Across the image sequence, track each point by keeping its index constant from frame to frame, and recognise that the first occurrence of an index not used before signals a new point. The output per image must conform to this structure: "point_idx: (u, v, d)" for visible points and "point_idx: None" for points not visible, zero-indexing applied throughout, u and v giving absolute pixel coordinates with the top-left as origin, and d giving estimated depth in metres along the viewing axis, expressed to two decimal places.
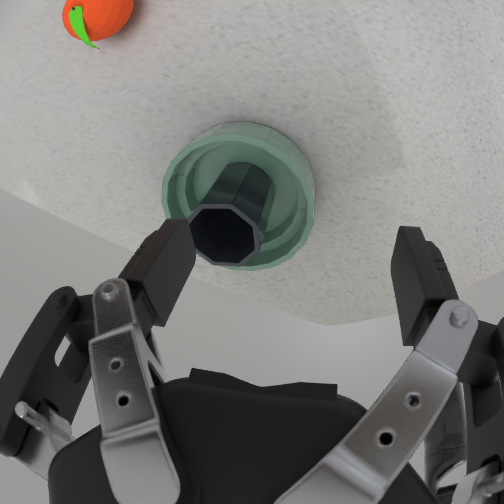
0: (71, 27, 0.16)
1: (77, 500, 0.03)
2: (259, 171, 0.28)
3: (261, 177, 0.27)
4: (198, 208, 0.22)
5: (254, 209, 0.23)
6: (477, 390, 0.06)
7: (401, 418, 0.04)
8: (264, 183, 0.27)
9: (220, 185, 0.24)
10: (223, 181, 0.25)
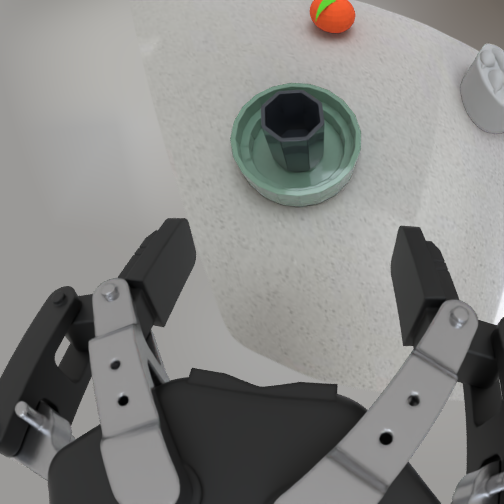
0: (320, 1, 0.30)
1: (77, 500, 0.03)
2: None
3: None
4: (298, 90, 0.26)
5: None
6: (477, 390, 0.06)
7: (401, 418, 0.04)
8: None
9: None
10: None
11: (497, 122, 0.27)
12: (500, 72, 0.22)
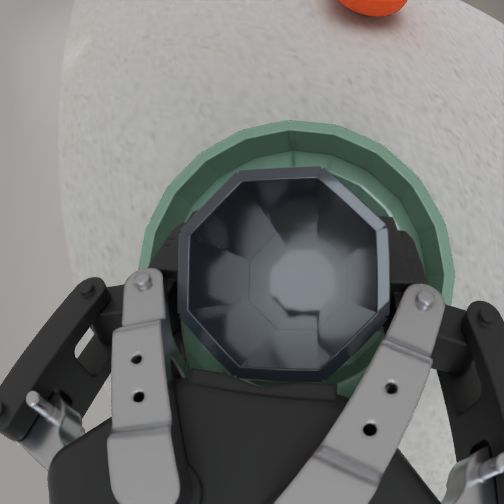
0: None
1: (77, 500, 0.03)
2: None
3: None
4: (308, 170, 0.08)
5: None
6: (453, 378, 0.06)
7: (382, 407, 0.04)
8: None
9: None
10: None
11: None
12: None
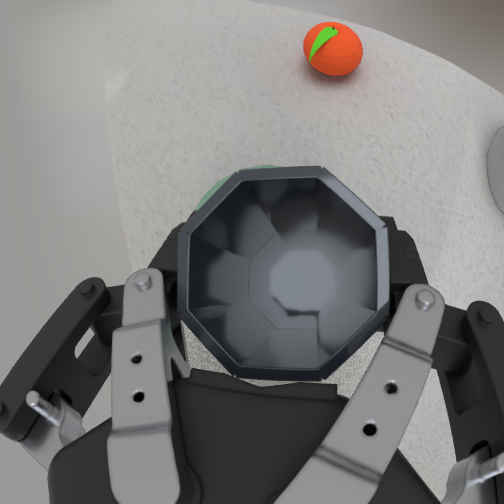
0: (317, 33, 0.25)
1: (77, 500, 0.03)
2: None
3: None
4: (308, 169, 0.08)
5: None
6: (453, 378, 0.06)
7: (382, 407, 0.04)
8: None
9: None
10: None
11: None
12: None
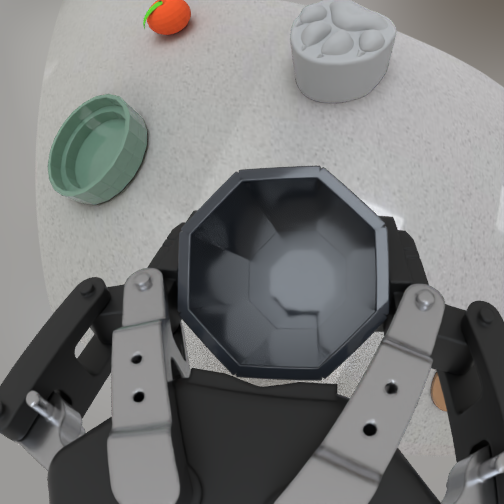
0: (150, 8, 0.31)
1: (77, 500, 0.03)
2: None
3: None
4: (308, 169, 0.08)
5: None
6: (453, 378, 0.06)
7: (381, 407, 0.04)
8: None
9: None
10: None
11: (324, 86, 0.28)
12: (317, 22, 0.23)
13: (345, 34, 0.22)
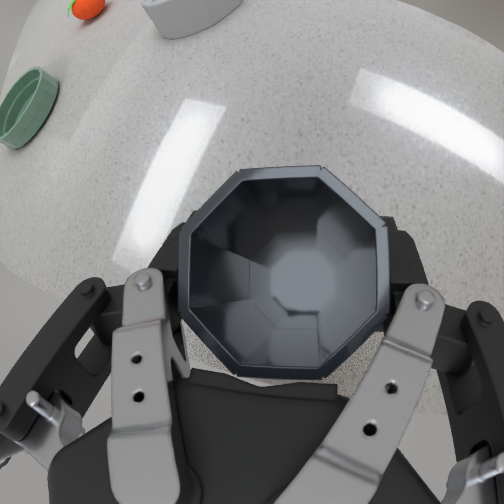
0: (73, 1, 0.32)
1: (77, 500, 0.03)
2: None
3: None
4: (309, 169, 0.08)
5: None
6: (453, 378, 0.06)
7: (382, 407, 0.04)
8: None
9: None
10: None
11: (167, 24, 0.29)
12: None
13: None
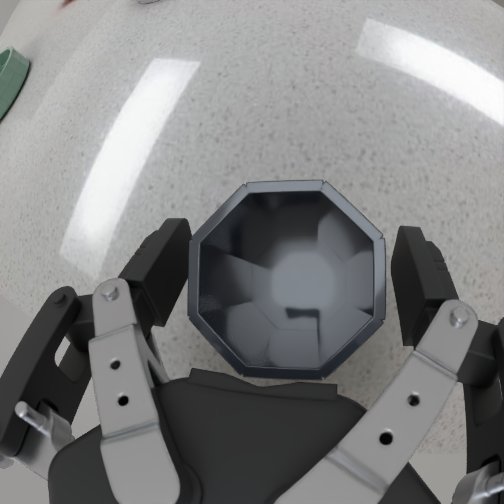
0: None
1: (77, 499, 0.03)
2: None
3: None
4: (312, 183, 0.09)
5: None
6: (477, 390, 0.06)
7: (401, 418, 0.04)
8: None
9: None
10: None
11: None
12: None
13: None
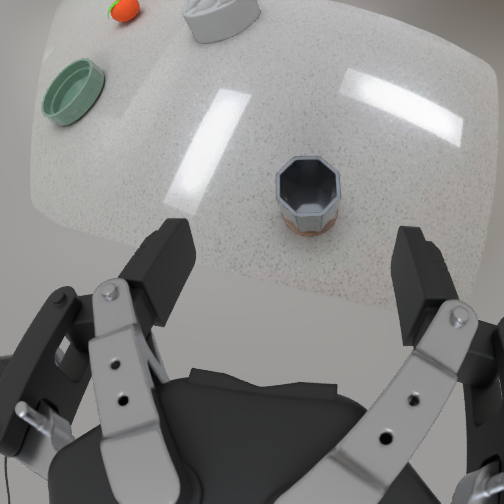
0: (112, 5, 0.43)
1: (77, 500, 0.03)
2: None
3: None
4: (315, 157, 0.27)
5: None
6: (477, 390, 0.06)
7: (401, 418, 0.04)
8: None
9: None
10: None
11: (203, 31, 0.39)
12: None
13: None
